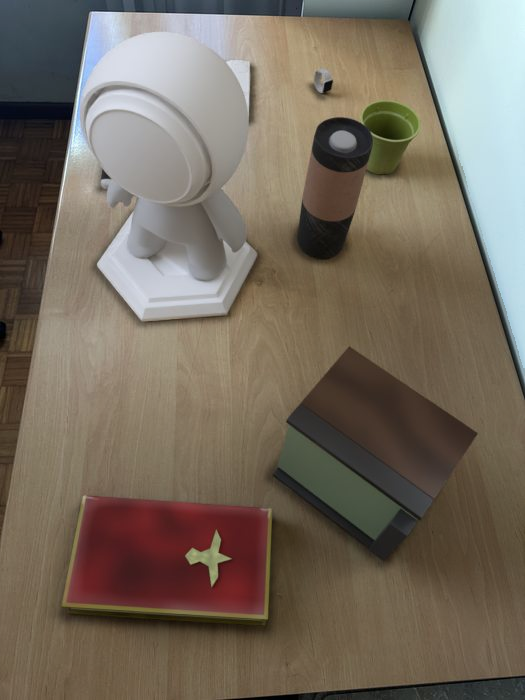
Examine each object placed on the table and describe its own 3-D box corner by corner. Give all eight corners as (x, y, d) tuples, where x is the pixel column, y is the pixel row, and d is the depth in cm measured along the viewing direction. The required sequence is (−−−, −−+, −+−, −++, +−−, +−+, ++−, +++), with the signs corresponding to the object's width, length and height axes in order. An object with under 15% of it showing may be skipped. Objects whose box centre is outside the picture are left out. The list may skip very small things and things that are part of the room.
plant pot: (390, 191, 107) (404, 149, 99) (340, 165, 109) (350, 123, 101) (415, 158, 111) (431, 116, 104) (366, 135, 113) (378, 91, 106)
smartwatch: (310, 85, 119) (313, 66, 115) (320, 82, 120) (323, 62, 116) (321, 97, 117) (325, 78, 114) (331, 94, 118) (335, 75, 115)
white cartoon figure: (76, 296, 91) (16, 76, 62) (152, 187, 103) (131, -43, 73) (209, 347, 89) (213, 144, 59) (271, 229, 101) (300, 9, 71)
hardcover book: (88, 503, 77) (83, 491, 73) (269, 516, 78) (272, 504, 74) (68, 613, 70) (60, 605, 67) (264, 625, 71) (268, 619, 68)
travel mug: (355, 248, 100) (386, 144, 83) (315, 269, 97) (338, 166, 80) (325, 215, 103) (349, 108, 86) (285, 234, 100) (301, 128, 83)
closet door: (379, 565, 74) (412, 531, 63) (267, 478, 79) (278, 431, 67) (393, 544, 76) (428, 507, 64) (282, 460, 80) (296, 411, 68)
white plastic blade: (218, 119, 112) (218, 113, 111) (222, 63, 120) (222, 58, 119) (248, 121, 112) (249, 115, 112) (250, 65, 120) (250, 60, 119)
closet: (382, 560, 76) (421, 518, 62) (272, 475, 80) (286, 419, 67) (431, 486, 81) (478, 433, 67) (325, 410, 85) (349, 345, 72)
